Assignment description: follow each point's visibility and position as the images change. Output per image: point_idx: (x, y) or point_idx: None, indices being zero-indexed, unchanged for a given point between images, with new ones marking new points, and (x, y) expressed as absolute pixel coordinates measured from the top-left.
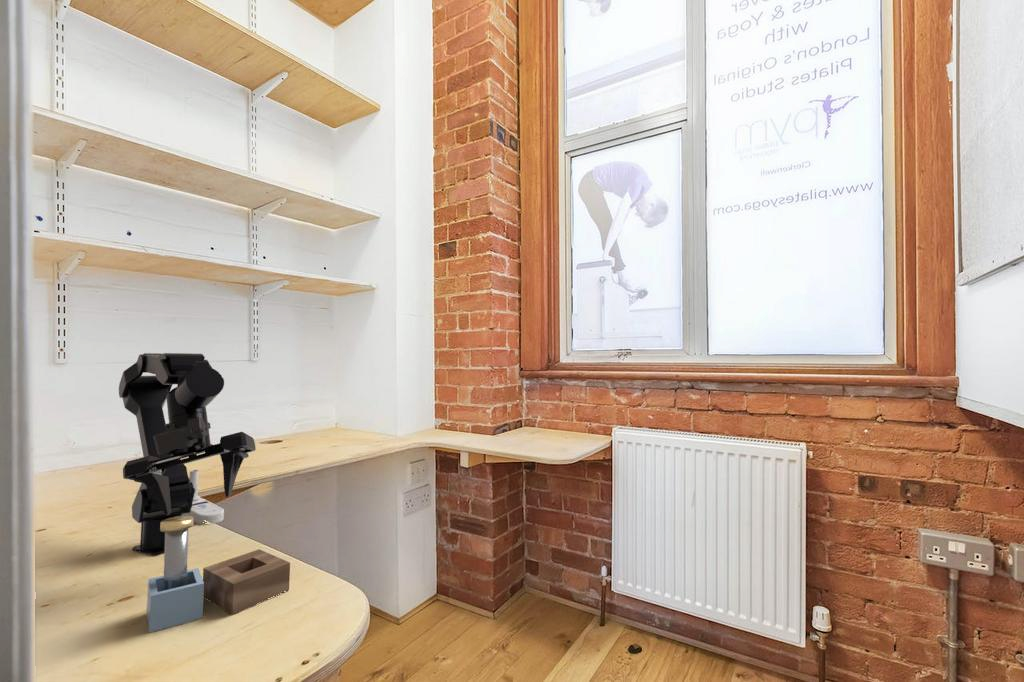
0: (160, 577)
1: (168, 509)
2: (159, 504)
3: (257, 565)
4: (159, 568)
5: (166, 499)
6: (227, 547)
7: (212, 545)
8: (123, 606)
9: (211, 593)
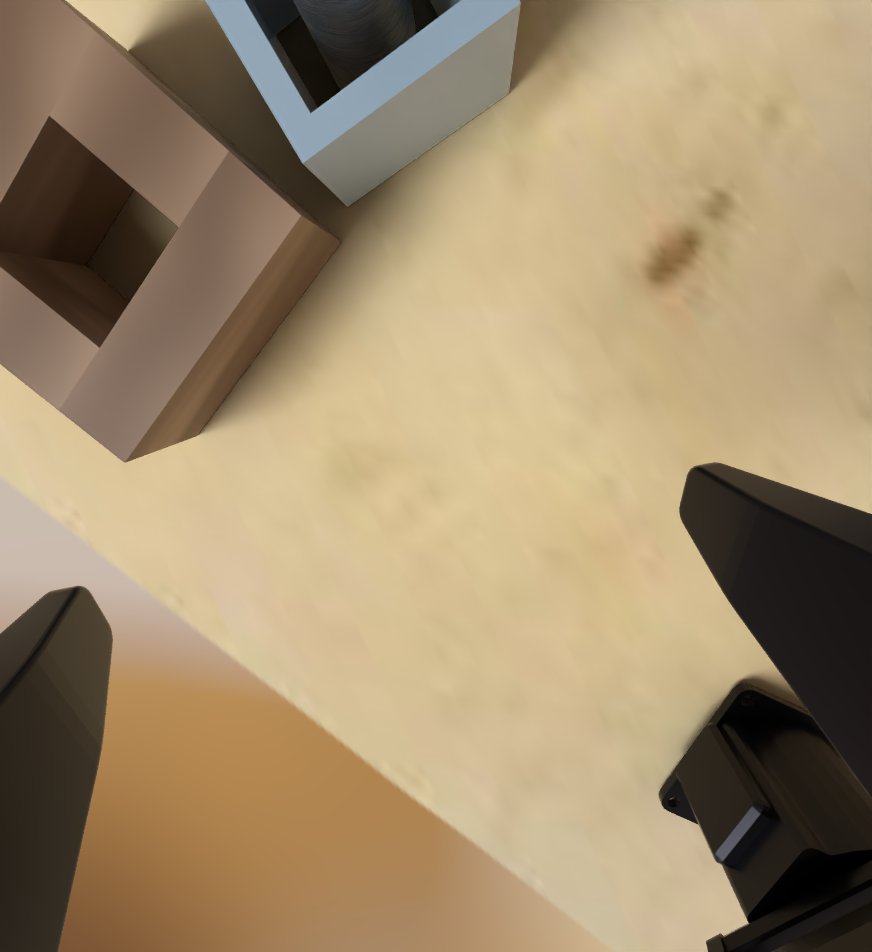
0: (456, 19)
1: (714, 520)
2: (842, 506)
3: (84, 316)
4: (665, 551)
5: (810, 596)
6: (460, 734)
7: (536, 762)
8: (647, 175)
9: (263, 174)
